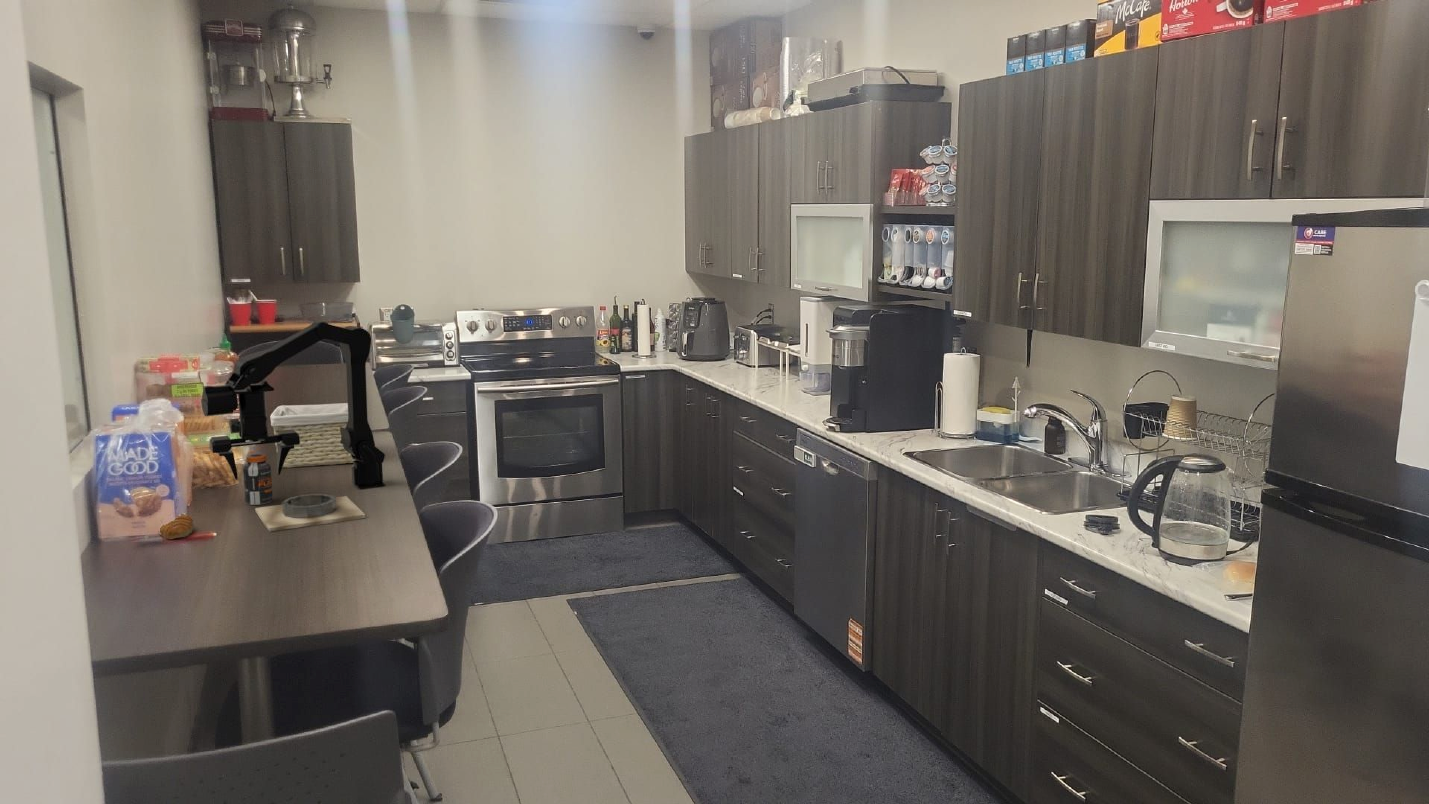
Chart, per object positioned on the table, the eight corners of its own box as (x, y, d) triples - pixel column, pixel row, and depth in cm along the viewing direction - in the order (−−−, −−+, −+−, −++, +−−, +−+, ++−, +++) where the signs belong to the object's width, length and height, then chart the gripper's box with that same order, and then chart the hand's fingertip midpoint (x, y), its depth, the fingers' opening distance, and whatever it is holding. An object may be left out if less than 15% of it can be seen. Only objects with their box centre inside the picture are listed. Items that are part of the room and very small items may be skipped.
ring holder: (346, 499, 247) (345, 485, 246) (365, 517, 232) (364, 503, 231) (255, 511, 236) (254, 497, 235) (269, 531, 221) (268, 516, 220)
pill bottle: (262, 506, 240) (259, 458, 238) (239, 504, 241) (236, 457, 240) (278, 499, 246) (275, 453, 244) (255, 498, 247) (252, 451, 245)
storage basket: (272, 470, 275) (268, 415, 272) (279, 456, 290) (276, 404, 288) (367, 464, 281) (364, 411, 279) (369, 452, 297) (367, 401, 294)
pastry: (197, 538, 217) (195, 520, 216) (161, 543, 214) (159, 525, 213) (192, 526, 225) (190, 509, 224) (157, 531, 221) (155, 514, 221)
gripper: (289, 402, 252) (293, 465, 254) (204, 409, 242) (209, 474, 245) (298, 409, 242) (302, 474, 245) (210, 417, 233) (215, 485, 235)
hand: (257, 476), depth 243 cm, fingers open, 9 cm apart
